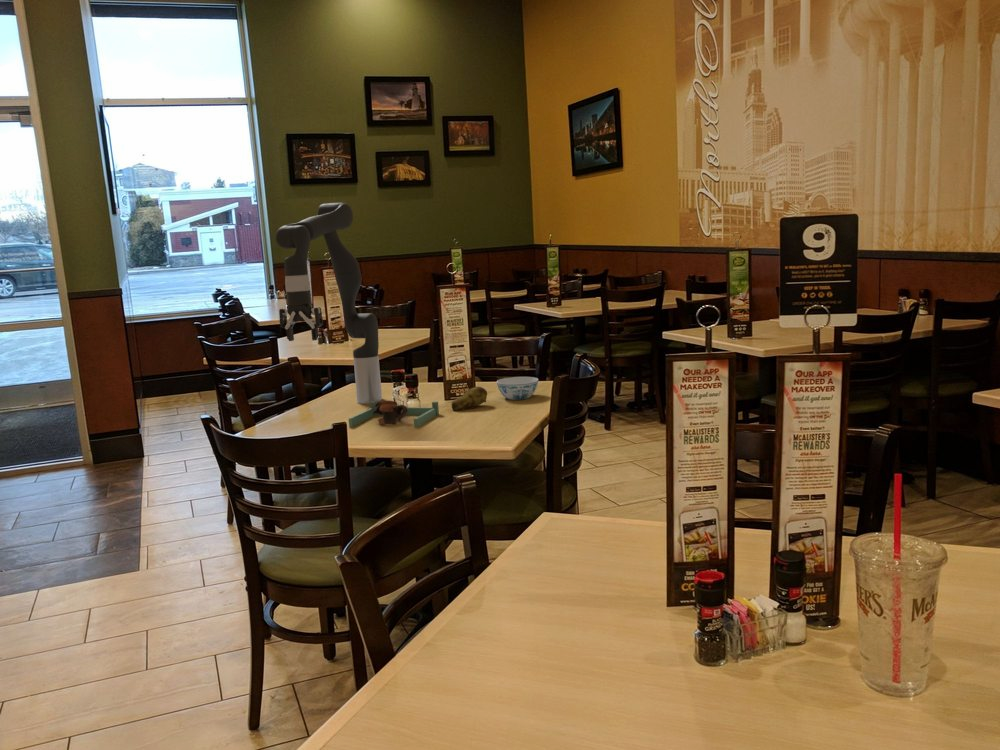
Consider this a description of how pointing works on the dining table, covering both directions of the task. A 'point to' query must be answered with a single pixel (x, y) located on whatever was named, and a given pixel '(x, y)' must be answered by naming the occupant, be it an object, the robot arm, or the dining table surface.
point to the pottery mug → (389, 412)
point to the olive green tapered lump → (470, 399)
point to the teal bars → (423, 412)
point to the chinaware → (517, 387)
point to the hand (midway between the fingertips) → (302, 340)
